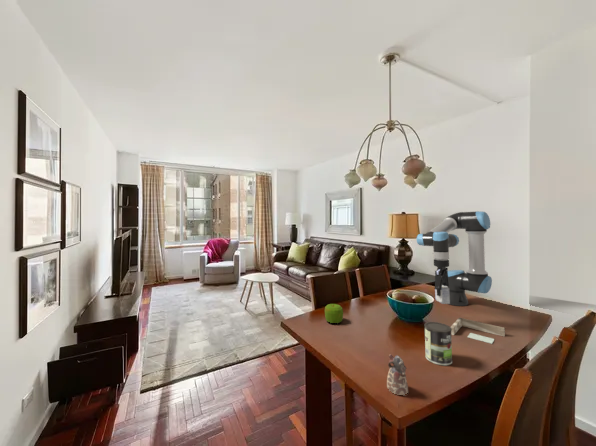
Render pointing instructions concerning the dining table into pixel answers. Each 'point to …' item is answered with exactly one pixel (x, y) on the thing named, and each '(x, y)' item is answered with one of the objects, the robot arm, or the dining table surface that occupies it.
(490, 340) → the pad
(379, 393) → the dining table surface
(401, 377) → the figurine
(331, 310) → the apple
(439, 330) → the coffee can
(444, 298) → the medicine box
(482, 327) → the corner walls
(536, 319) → the dining table surface
